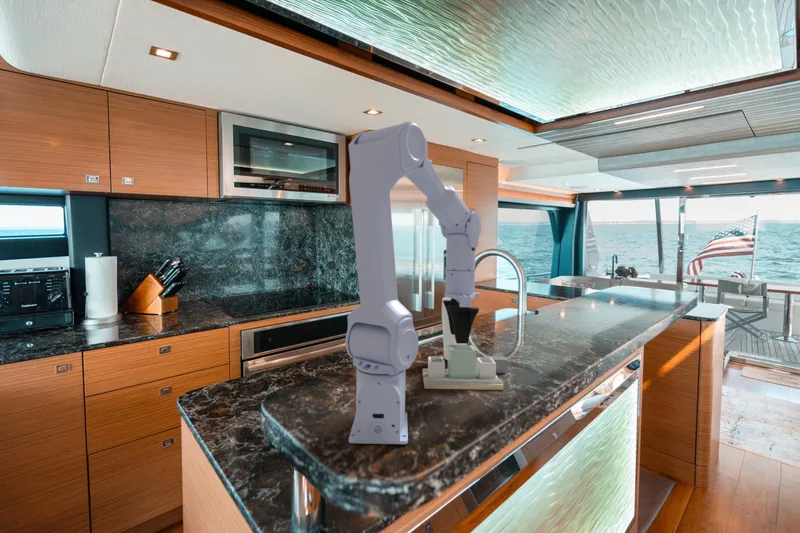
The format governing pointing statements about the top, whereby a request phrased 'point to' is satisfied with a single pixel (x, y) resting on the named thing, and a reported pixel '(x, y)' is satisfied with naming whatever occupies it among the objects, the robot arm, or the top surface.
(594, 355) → the top surface
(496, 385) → the rail panel
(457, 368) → the box
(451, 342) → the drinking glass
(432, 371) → the mounted modules
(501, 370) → the block
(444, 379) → the din rail
